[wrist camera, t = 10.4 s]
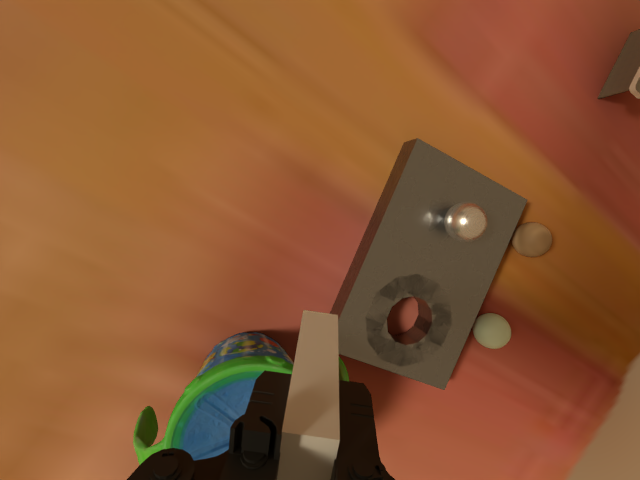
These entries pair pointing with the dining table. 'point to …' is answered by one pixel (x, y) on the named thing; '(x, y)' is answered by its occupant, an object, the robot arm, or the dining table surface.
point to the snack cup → (216, 397)
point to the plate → (423, 266)
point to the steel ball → (466, 222)
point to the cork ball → (531, 239)
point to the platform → (625, 70)
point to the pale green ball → (492, 330)
